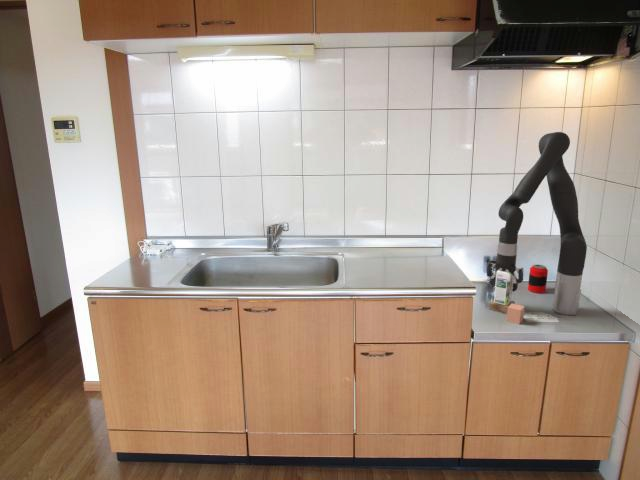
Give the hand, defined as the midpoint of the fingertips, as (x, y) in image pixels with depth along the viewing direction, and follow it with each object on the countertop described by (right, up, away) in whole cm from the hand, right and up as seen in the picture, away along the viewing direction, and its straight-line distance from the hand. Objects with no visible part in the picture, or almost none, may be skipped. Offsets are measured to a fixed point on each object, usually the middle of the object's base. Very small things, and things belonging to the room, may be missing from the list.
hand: (503, 288), depth 191 cm
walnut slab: (0, -9, +2) cm, 9 cm away
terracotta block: (+1, -12, -8) cm, 15 cm away
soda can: (+24, -3, +21) cm, 33 cm away
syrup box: (0, -6, +2) cm, 7 cm away
